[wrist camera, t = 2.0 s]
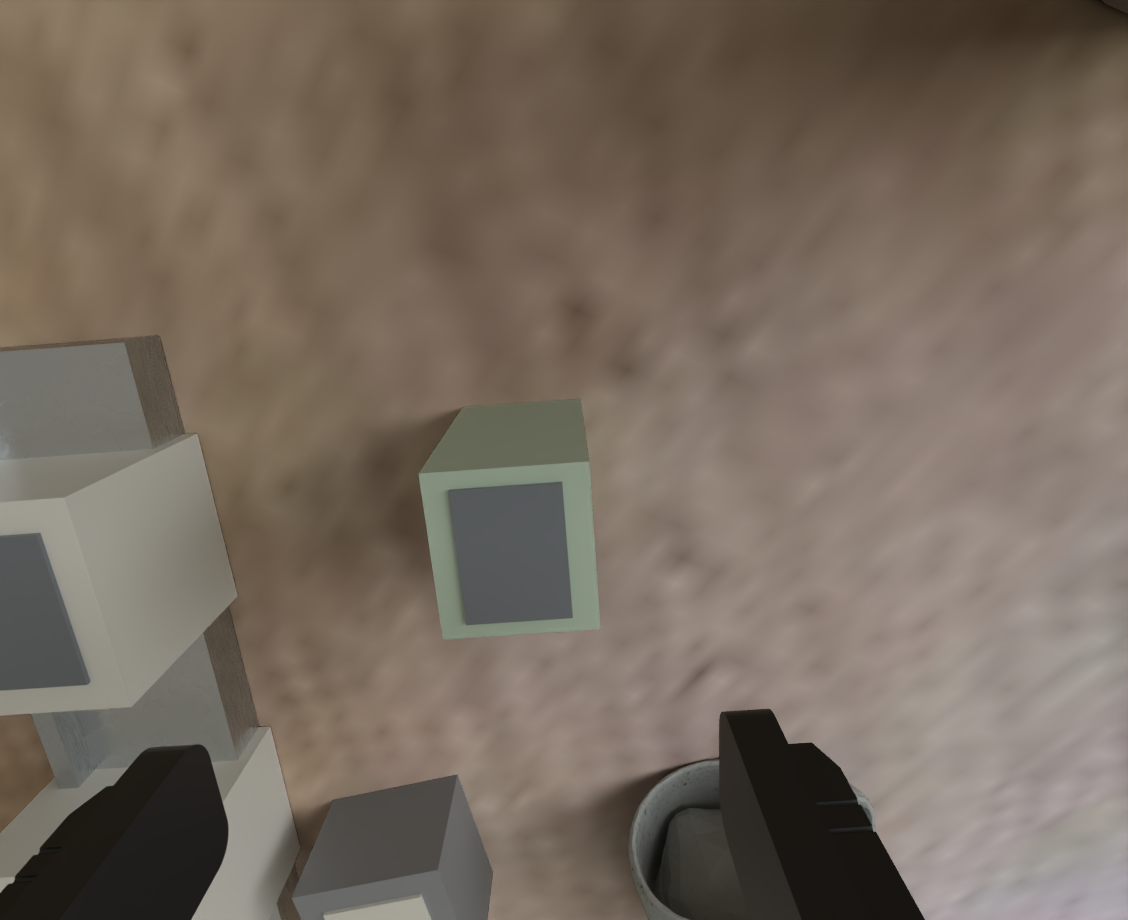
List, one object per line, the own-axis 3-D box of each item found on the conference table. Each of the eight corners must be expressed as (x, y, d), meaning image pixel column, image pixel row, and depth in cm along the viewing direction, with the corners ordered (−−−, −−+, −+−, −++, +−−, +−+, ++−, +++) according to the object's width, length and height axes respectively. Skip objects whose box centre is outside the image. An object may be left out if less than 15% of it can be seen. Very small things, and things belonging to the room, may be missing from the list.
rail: (159, 335, 24) (104, 346, 21) (305, 908, 32) (280, 972, 29) (-23, 349, 24) (-102, 362, 21) (169, 916, 32) (130, 980, 29)
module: (580, 398, 25) (589, 463, 17) (589, 520, 26) (600, 632, 18) (462, 407, 25) (417, 475, 17) (477, 528, 26) (442, 642, 19)
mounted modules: (197, 433, 25) (60, 499, 18) (300, 849, 31) (226, 1015, 24) (-8, 448, 25) (-220, 519, 18) (134, 858, 31) (15, 1026, 24)
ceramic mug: (660, 907, 32) (693, 1097, 25) (616, 779, 30) (638, 948, 23) (872, 855, 32) (969, 1035, 24) (844, 720, 29) (943, 874, 22)
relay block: (457, 772, 30) (437, 873, 25) (493, 870, 32) (480, 982, 27) (334, 797, 30) (289, 901, 26) (375, 892, 32) (341, 1007, 27)
